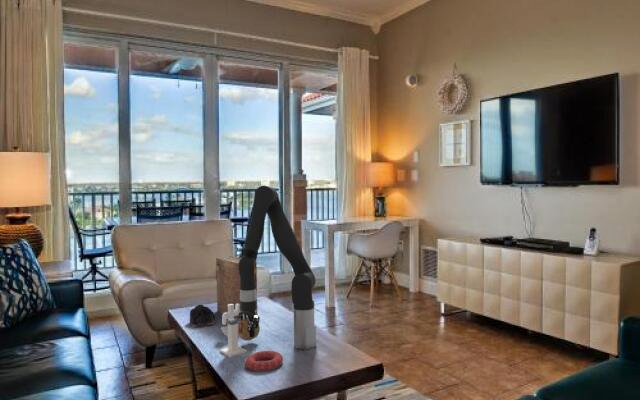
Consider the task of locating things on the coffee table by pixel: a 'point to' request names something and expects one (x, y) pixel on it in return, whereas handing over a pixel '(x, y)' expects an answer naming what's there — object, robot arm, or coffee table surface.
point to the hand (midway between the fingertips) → (249, 336)
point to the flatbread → (244, 332)
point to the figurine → (229, 316)
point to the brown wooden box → (229, 283)
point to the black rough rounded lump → (201, 316)
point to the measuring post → (232, 340)
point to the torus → (273, 362)
